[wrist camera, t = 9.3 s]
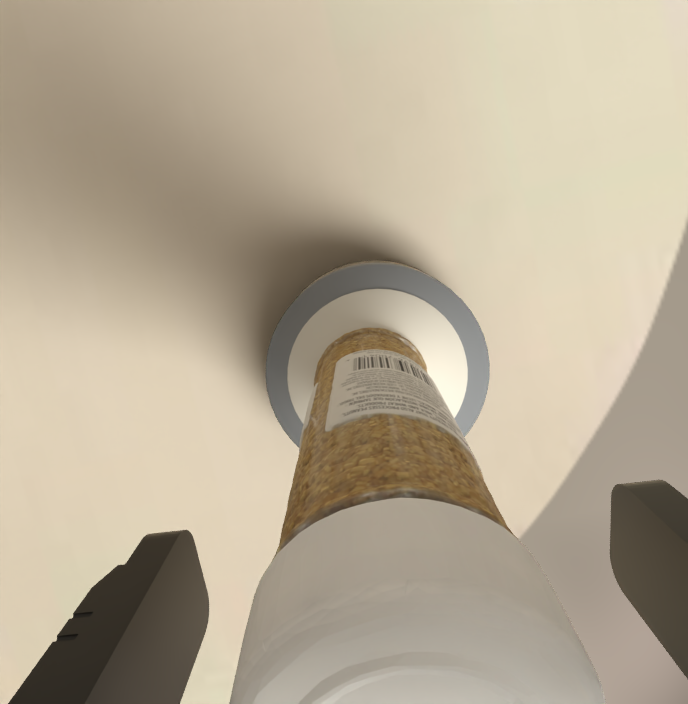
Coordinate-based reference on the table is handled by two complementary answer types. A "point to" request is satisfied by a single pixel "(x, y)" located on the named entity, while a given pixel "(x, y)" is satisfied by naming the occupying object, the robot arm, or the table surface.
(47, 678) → the robot arm
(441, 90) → the table surface
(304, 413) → the stand
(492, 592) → the sprinkles bottle
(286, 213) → the table surface
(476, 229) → the table surface
